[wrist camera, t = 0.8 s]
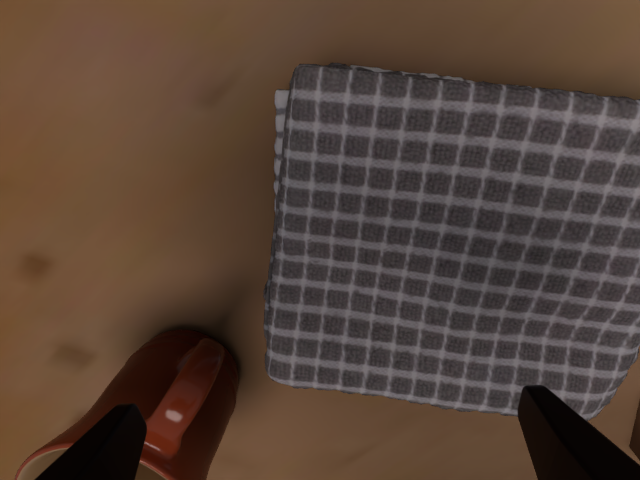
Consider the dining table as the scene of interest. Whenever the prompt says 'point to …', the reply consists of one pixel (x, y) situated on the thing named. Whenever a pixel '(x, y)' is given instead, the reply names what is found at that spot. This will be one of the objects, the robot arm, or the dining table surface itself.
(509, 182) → the towel
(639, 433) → the walnut cube
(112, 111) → the dining table surface
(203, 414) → the mug
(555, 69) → the dining table surface
